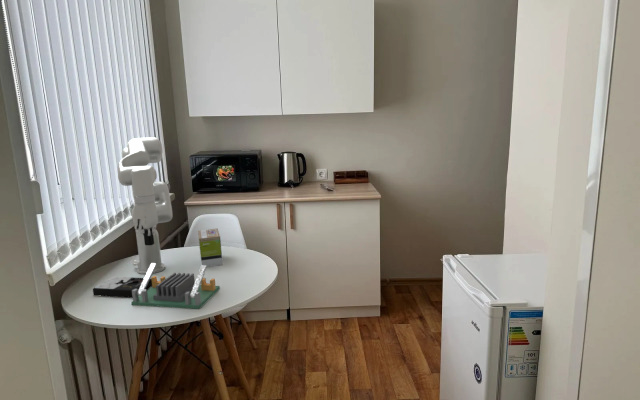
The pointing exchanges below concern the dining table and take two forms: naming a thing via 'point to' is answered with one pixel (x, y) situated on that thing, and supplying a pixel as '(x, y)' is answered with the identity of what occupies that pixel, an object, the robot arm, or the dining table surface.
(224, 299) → the dining table surface
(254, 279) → the dining table surface
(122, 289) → the multimeter
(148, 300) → the cooler board
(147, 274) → the strap left
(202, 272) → the strap right
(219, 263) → the tea box
